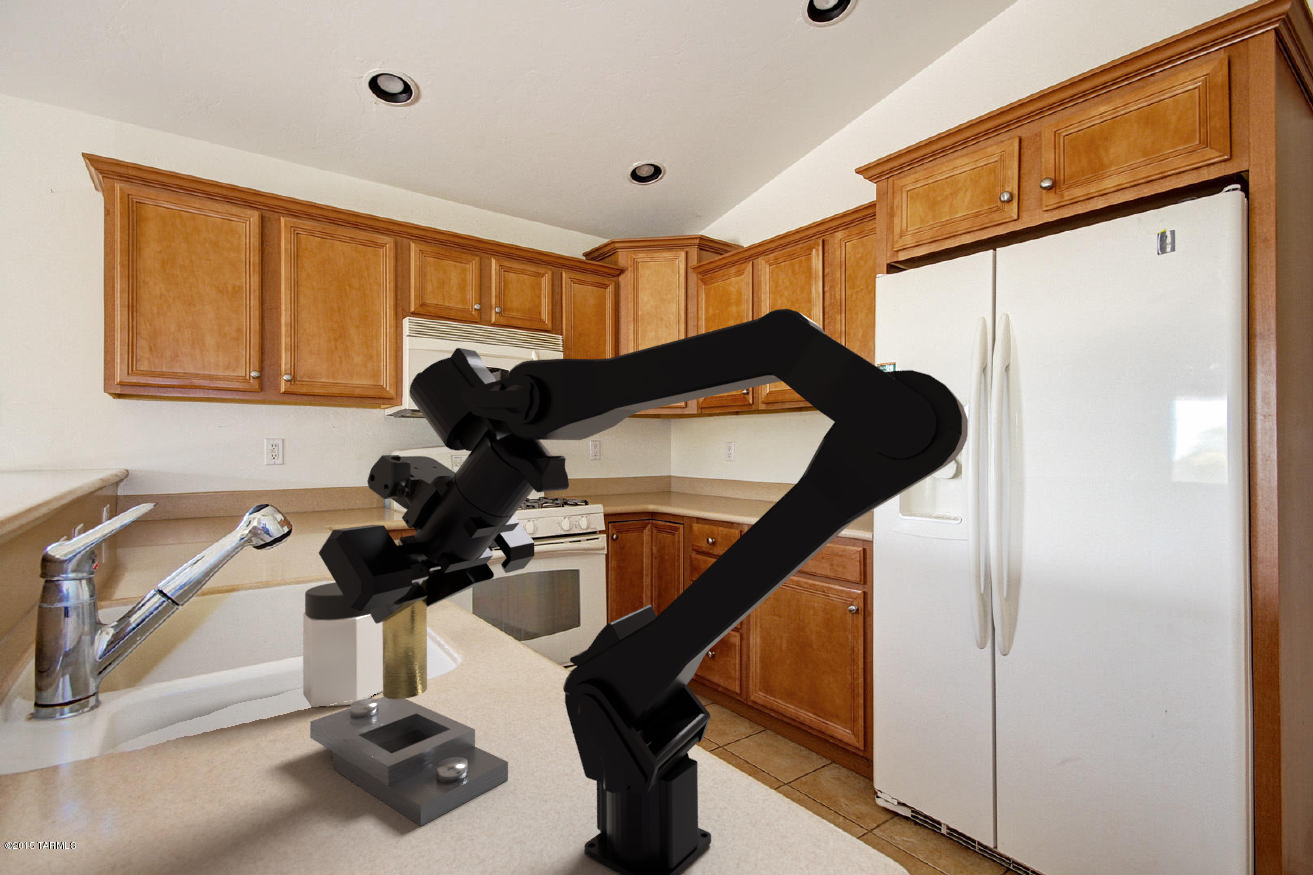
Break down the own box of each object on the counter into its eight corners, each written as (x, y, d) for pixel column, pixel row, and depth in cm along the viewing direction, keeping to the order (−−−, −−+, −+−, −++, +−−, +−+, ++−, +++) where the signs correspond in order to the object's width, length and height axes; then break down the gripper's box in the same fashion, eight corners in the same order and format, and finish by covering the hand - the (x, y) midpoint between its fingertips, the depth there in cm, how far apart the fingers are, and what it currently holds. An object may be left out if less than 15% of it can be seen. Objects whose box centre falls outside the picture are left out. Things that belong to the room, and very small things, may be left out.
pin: (435, 684, 56) (434, 539, 56) (410, 700, 53) (409, 545, 53) (400, 681, 57) (399, 538, 57) (373, 697, 53) (372, 544, 54)
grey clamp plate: (508, 779, 52) (507, 733, 52) (420, 826, 46) (420, 773, 46) (393, 723, 63) (393, 685, 63) (310, 754, 57) (310, 712, 57)
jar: (395, 695, 71) (395, 588, 71) (314, 715, 65) (314, 600, 66) (372, 673, 78) (372, 576, 78) (298, 690, 72) (297, 586, 73)
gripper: (509, 425, 62) (430, 532, 67) (334, 419, 45) (246, 561, 50) (576, 508, 58) (487, 615, 63) (412, 534, 41) (308, 676, 46)
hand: (394, 613), depth 56 cm, fingers closed on pin, 4 cm apart
